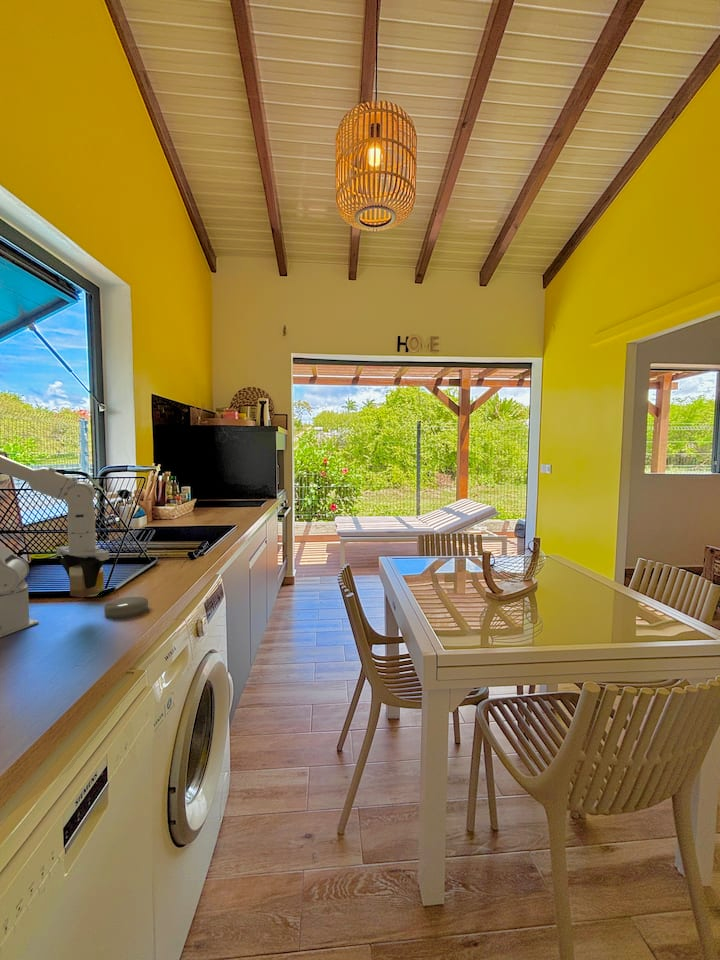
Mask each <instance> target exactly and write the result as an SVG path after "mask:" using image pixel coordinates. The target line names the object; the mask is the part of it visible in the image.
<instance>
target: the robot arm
mask: <svg viewBox="0 0 720 960" xmlns="http://www.w3.org/2000/svg"><path fill="white" fill-rule="evenodd" d="M0 474H2V475H7V476H8V477H9V476H10V477H12V478H15V479H18V480H21V481H24V482H27V484H28V486H29V487H30V489H31V490H32V491H35V492H38V493H39V494H43V495H45V496H47V497H51V498H54V499H56V500H59V501H62V500H64V502H65V503H66V504H67V514H66V515H67V516H66V517H67V518H66V520H67V521H66V522H67V542H68V543H67V546H66V545H64V546H63V545H62V546H59V547H56V548H55V549H56V550H55V551H56V556H59V557H60V556H64V558H60V559H59V563H60V565H61V566H62V567H63V569H64V570H65V572H66V575H67V577H68V579H69V581H70V576H69V567H73V566H76V565H81V567H82V570H83V573H84V580H85V586H86V588H87V589H89V588H92V587H95V585H96V581H97V577H98V574H99V571H100V569H101V567H102V568H103V564H104V563H105V562H106V560H110V551H108V550H105V549H101V548H99V547H100V546H98V545H96V544H97V540H96V538H97V537H96V514H95V504H94V499H95V497H96V490H95V488H94V486H93V485H92V484H90V483H88V482H87V481H85V480H78V477H76V476H72V477H71V476H67V475H65V474H62V473H60V472H57V468H56V467H55V468H54V467H52V466H50V467H48V468H47V467H45V466H44V467H40V468H37V469H35V468H32V467H29V466H27V465H25V464H22V463H19V462H18V461H15V460H13V459H11V458H8V457H6V456H3V455H1V454H0ZM29 572H30V566H29V563H28V562H27V561H26V560H25V559H23V558H22V557H19V556H18V555H17V554H15V553H14V552H13V550H11V549H10V548H8V547H6V546H5V545H4V544H3V543H2V542H1V541H0V638H2V637H5V636H7V635H11V634H14V633H16V632H19V631H21V630H23V629H27V628H28V627H31V626H33V625H37V624H39V623H40V621H39V620H37V619H31V618H30V604H29V603H30V602H29V585H28V583H27V582H26V580H25V579H26V578H27V576H28V575H29Z"/></svg>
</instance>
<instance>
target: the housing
mask: <svg viewBox="0 0 720 960" xmlns="http://www.w3.org/2000/svg"><path fill="white" fill-rule="evenodd" d="M69 576H70V580H69V595H70V597H76V598H77V597H78V598H82V599H83V598H85V597H86V596H89V595H92V594H94V593H97V581H96V585H95V587H92V588H89V589H87V588H86V586H85V580H84V573H83V570H82V567H81V565H76V566H73V567H69ZM86 598H87V597H86Z"/></svg>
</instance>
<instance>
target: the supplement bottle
mask: <svg viewBox="0 0 720 960" xmlns="http://www.w3.org/2000/svg"><path fill="white" fill-rule="evenodd" d="M104 578H105V577H104V568H103V566H102V567H101V569H100V571H99V574H98V577H97V593H94V594H92V595H89V596H86V598H87V597H88V598H90V597H98V596H99V595H98V594H99V593H100V592H102V591H103V590H104V591H105V582H104V580H105V579H104ZM97 595H98V596H97Z"/></svg>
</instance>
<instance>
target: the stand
mask: <svg viewBox="0 0 720 960" xmlns="http://www.w3.org/2000/svg"><path fill="white" fill-rule="evenodd" d="M103 608H104V609H103V610H104V611H103V612H104V613H103V614H104V617H106V618H109V619H127V618H133V617H137V616H139V615H142V614H144V613H146V612H147V611H148V610H149V599H147V598H146V597H143V596H128V597H121V598H116V599H113V600H110V601H107V602H106V603H105V605H104V606H103ZM145 611H146V612H145Z"/></svg>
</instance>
